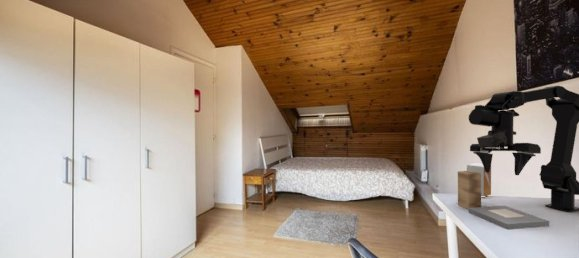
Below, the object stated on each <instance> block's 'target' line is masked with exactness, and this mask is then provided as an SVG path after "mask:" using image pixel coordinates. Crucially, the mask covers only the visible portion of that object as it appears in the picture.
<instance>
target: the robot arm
mask: <svg viewBox="0 0 579 258" xmlns="http://www.w3.org/2000/svg"><path fill="white" fill-rule="evenodd" d="M556 98H557V99H556ZM542 100H545V105H546V106H547V107H548V108H549V109H551V116H552V118H553V119H554V120H555V122H556V123H555V124H556V125H555V131H554V137H553V142H552V149H551V154H550V160H549V161H548V163H547V164H541V166H540V172H539V177H540V178H539V179H540V181H541V184H542V187H543V189H547V190H550V203H548V204H545V207H548V208H551V209H557V210H560V211H564V212H567V213H568V212H569V213H570V212H571V213H572V212H575V211H579V207H576V206H575V203H576V202H575V201H576V198H575V197H576V195H577V196H579V181H578V179H577V172H576V170H575V169H574V167H573V165H572V159H573V154H574V153H573V152H574V146H575V141H576V136H577V129H578V124H579V93H576V92H574V91H571V90H568V89H567V88H565V87H564V86H563V85H554V86H552V85H551V86H545V87H543V88H538V89H533V90H532V89H531V90H527V91H522V90H521V91H520V90H519V91H517V90H515V91H513V90H512V91H505V92H498V93H497V92H496V93H493V94H492V96H491V98H490V100H488V101H487V103H486V104H485V105H482V104H479V105H478V104H477V105H475V106H474V109H472V110H471V111H470V112H469V113H470V114H469V115H468V121H469V123H470V124H471V125H474V126H482V127H491V130H490V129H489V130H488V132H487V134H485V135H481V136H479V137H477V138H476V139H477V143H472V144H471V145H469V151H470V152H473V154H474V155H476V156H478V158H479V159H480V161H481V164H483V166H484V169H485V171H486V172H487V173H489V172H490V168H491V169H492V160H493V153H491V152H511V154H512V155H513V157H514V175H515V176H519V175H520V174H521V172H522V171H523V170H524V168H525V166H526V165H527V163H528V162H529V161H530V160H531V159H532V158H533V157H536V154H541V153H542V149H541V146H540V145H539V144H537V143H531V142H514V136H516V135H517V131H514V118H516V117H519V116H520V114H519V113H518V112H517V111H515V109H516V108H519V107H522V106H524V104H526V103H530V102H535V101H537V102H538V101H542Z"/></svg>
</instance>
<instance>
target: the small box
mask: <svg viewBox="0 0 579 258" xmlns="http://www.w3.org/2000/svg"><path fill="white" fill-rule="evenodd" d="M466 171H473V172H477V173H481V196H486V197H488V196H490V195H492V167H491V168H490V172H489V173H487V172H486V171H485V169H484V166H483V164H482V163H478V162H474V163H470V164H466ZM482 198H485V197H481V199H482Z"/></svg>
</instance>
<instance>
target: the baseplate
mask: <svg viewBox="0 0 579 258" xmlns="http://www.w3.org/2000/svg"><path fill="white" fill-rule="evenodd" d="M468 213H470V214H472V215H474V216H477V217H479V218H481V219H484V220H486V221H488V222H490V223H493V224H495V225H496V226H499V227H502V228H503V229H505V230H515V228H516V229H526V228H525V227H529V228H537V227H538V228H539V227H540V226H542V227H549V226H550V220H547V219H545V218H541V217H538V216H536V215H533V214H530V213H527V212H524V211H521V210H518V209H516V208H513V207H509V206H507V205H492V206H491V205H490V206H481V207H475V208H469V210H468Z"/></svg>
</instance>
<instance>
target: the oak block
mask: <svg viewBox="0 0 579 258" xmlns="http://www.w3.org/2000/svg"><path fill="white" fill-rule="evenodd" d="M457 205H458V206H459V207H462V208H464V209H466V210H468V211H469V208H475V207H482V197H481V173H477V172H473V171H467V170H460V171H459V170H458V171H457Z"/></svg>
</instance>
